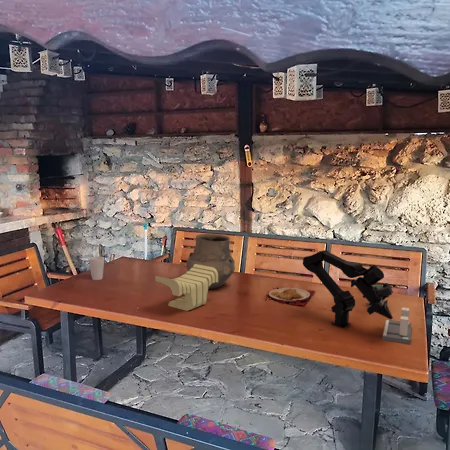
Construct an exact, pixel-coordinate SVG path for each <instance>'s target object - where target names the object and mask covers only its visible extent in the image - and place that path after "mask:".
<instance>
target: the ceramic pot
mask: <svg viewBox="0 0 450 450" xmlns="http://www.w3.org/2000/svg"><path fill="white" fill-rule="evenodd" d="M230 239H231V237H229V236H227V235H224V234H215V233H201V234H197V235H195V246H194V249H193V252H191V251H190V253H189V256H188V258H187V260H186V269H187V272H188V271H189V270H190V269H191V268H193V266H194V265H195V264H198V265H203V266H208V267H213V268H215V269H216V270H217V272H218V282H215V283H212V284H211V285H210V286H209V287H208V290H209V289H210V290H211V289H217V288H221V286H224V285H223V284H225V283H226V282H227V280H229V279H230V277H231V276H232V275H233V273H234V272H235V269H236V267H235V266H236V265H235V260H234V257H232V255H231V249H230Z"/></svg>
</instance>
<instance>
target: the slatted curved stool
mask: <svg viewBox="0 0 450 450" xmlns="http://www.w3.org/2000/svg"><path fill="white" fill-rule="evenodd" d="M155 282H158V283H161V284H163V285H165V286H167V287H168V288H170V290H171V292H172V296H176V297H178V298H176V299H174V300H170V301H168V305H167V306H168V307H171V308H175V309H179V310H182V311H187V312H188V311H190V310H193V309H196V308H198V307H200V306H203V305H205V304H206V303H207V299H208V298H207V297H208V291H209V289H208V287H209V286H210V285H211V284H212V283H215V282H218V272H217V270H216V269H215V268H213V267H208V266H203V265H198V264H195V265H194V266H193V268H191V269H190V270H189V271H188V270H187V271H186V273H184V274H182V275H180V276H178V277H175V278H168V277H162V276H158V275H155ZM183 294H184V296H182V295H183Z"/></svg>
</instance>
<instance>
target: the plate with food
mask: <svg viewBox="0 0 450 450" xmlns="http://www.w3.org/2000/svg"><path fill="white" fill-rule="evenodd" d="M278 288H279V289H277V288H273V289H272V290H270V291H267V293H268V294H267V293H266V295H265V297H266V298H264V300H265V301H264V302H268V301H270V300H272V299H273V300H275V301H274V302H277V303H278V304H281V305H287V303H288V304H289V305H291V306H303V307H304V306H306V305H307V304H308V302H309V301H310V300H311V298H312V297H313V295H314V294H315V293H316V290H311V289H309V290H307V289H303V288H297V287H293V286H292V287H278ZM281 292H282V293H281ZM267 297H268V298H267ZM269 297H270V298H271V299H270V298H269ZM267 299H268V301H267Z"/></svg>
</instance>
